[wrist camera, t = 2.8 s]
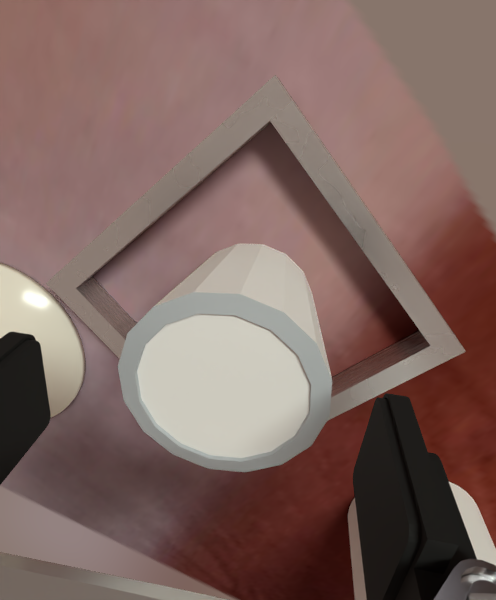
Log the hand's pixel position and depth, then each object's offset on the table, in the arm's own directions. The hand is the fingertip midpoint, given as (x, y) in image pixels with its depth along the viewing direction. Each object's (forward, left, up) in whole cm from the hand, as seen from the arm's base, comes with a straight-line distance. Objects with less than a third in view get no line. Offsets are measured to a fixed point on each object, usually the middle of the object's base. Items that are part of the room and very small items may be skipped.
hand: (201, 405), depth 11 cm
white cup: (-1, 0, -9) cm, 9 cm away
